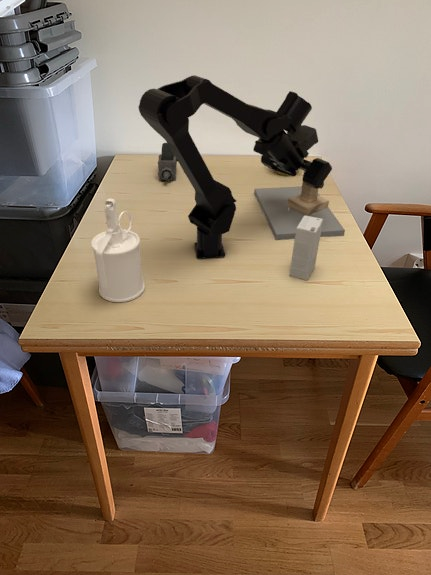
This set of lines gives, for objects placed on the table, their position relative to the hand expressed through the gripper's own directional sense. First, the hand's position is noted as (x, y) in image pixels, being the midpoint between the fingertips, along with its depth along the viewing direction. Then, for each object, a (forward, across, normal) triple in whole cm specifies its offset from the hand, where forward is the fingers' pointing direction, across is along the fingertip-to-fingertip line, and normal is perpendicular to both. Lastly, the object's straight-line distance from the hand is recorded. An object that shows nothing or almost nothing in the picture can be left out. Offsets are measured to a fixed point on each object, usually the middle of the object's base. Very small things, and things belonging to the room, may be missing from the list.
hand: (308, 180), depth 120 cm
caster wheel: (-5, +42, +18) cm, 45 cm away
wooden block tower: (+6, 0, +5) cm, 8 cm away
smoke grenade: (-33, -1, +45) cm, 56 cm away
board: (+5, +1, +8) cm, 9 cm away
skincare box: (-8, -19, +21) cm, 30 cm away
